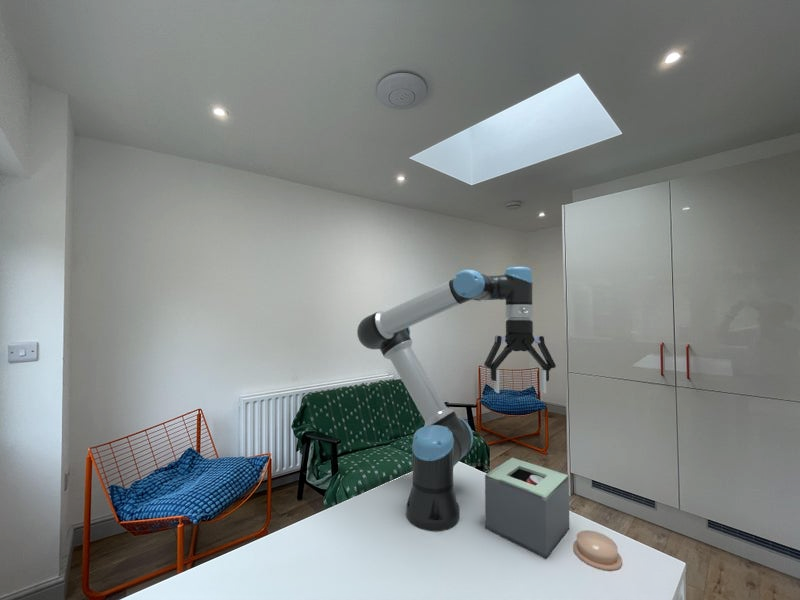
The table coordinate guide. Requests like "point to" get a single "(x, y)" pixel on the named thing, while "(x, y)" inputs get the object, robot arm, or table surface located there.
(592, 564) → the peach dome
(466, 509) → the table surface
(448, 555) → the table surface
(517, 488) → the recycling bin
